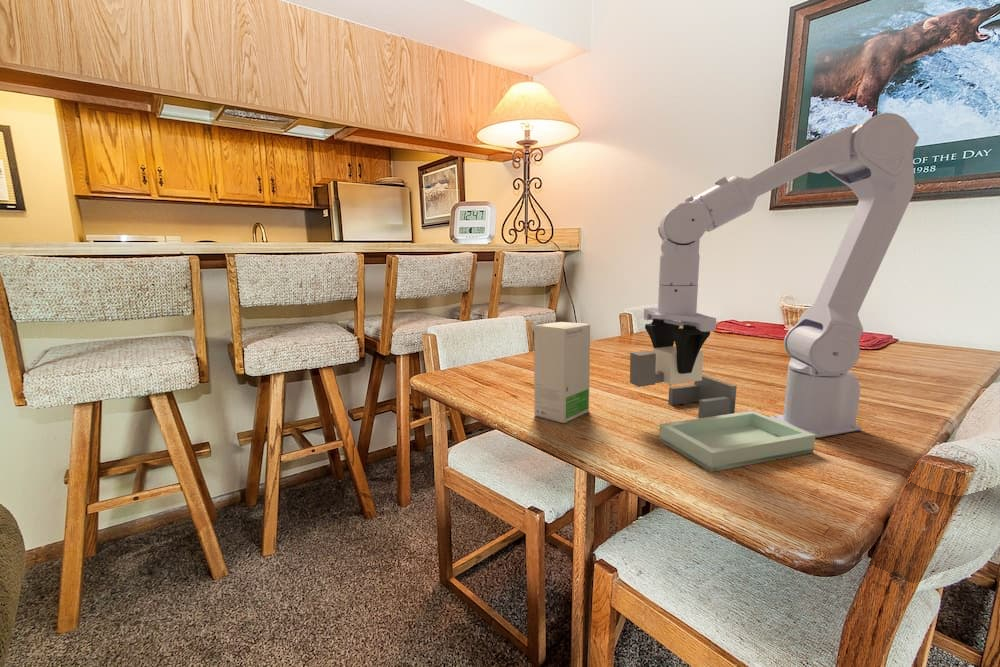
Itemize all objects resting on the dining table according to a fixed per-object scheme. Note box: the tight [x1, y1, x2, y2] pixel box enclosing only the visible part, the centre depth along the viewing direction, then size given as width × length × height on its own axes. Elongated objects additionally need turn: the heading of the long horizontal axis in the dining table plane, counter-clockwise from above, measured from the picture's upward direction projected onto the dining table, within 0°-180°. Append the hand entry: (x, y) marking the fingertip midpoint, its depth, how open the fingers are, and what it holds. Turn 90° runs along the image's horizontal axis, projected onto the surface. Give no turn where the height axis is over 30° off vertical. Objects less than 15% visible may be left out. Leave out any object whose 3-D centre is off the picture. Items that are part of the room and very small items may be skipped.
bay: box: [667, 374, 737, 419], centre depth 75 cm, size 6×8×5 cm
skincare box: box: [533, 321, 591, 424], centre depth 73 cm, size 8×7×16 cm
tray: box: [658, 410, 816, 473], centre depth 61 cm, size 17×10×2 cm, turn 107°
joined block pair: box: [629, 345, 704, 388], centre depth 70 cm, size 11×4×5 cm, turn 107°
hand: (673, 368), depth 70 cm, fingers closed on joined block pair, 4 cm apart
